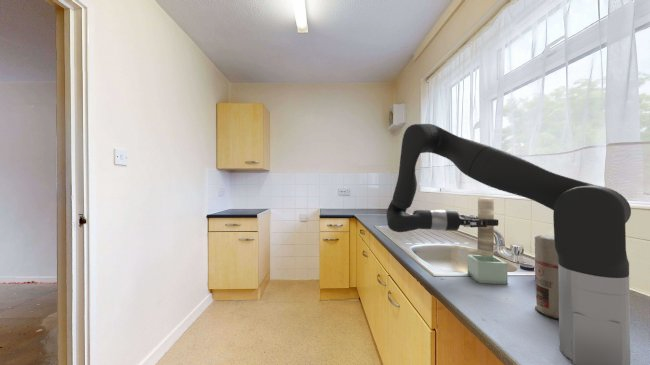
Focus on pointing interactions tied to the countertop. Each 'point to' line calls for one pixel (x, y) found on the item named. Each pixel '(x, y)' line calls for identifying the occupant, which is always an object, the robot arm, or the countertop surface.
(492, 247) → the birch dowel
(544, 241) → the white labelled canister
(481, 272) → the pale green open box
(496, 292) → the countertop surface
